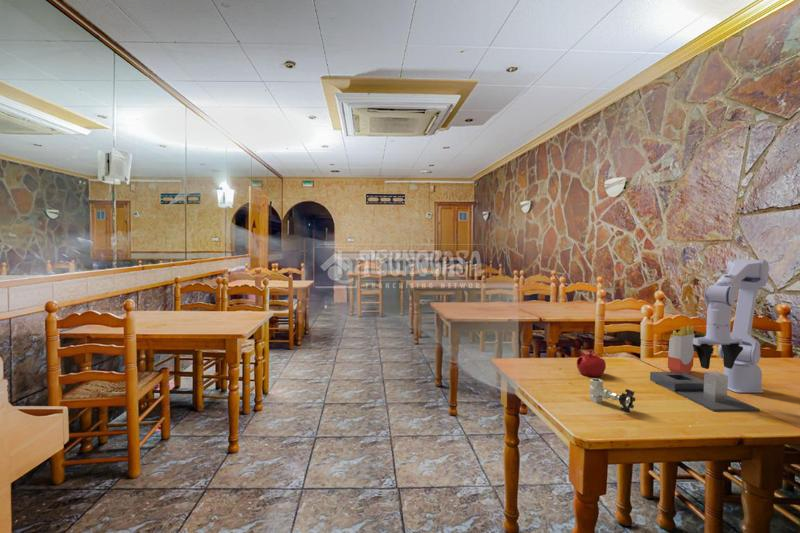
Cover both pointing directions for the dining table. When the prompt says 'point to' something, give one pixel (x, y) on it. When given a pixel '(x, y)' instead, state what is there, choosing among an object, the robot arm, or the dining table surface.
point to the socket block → (678, 381)
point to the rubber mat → (730, 405)
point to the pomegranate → (591, 364)
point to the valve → (610, 395)
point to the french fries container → (681, 350)
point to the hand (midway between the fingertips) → (716, 367)
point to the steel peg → (715, 386)
